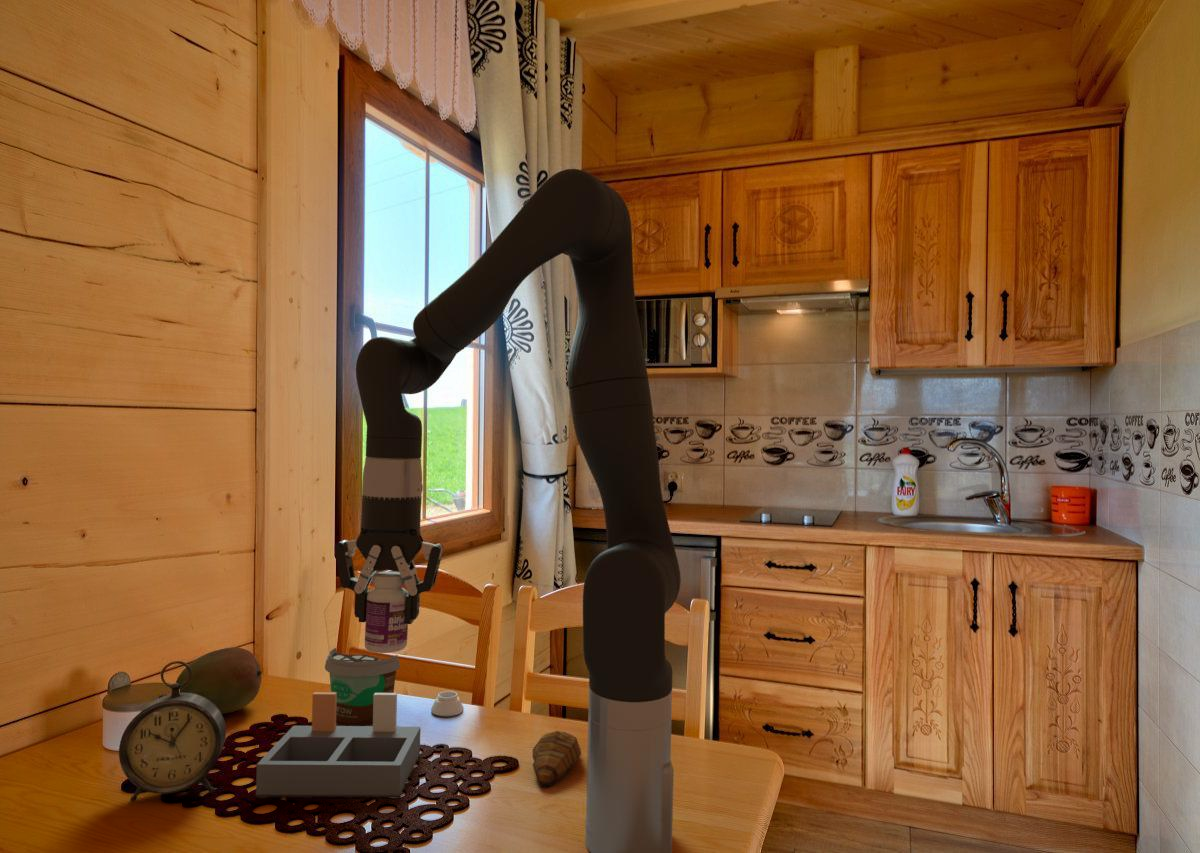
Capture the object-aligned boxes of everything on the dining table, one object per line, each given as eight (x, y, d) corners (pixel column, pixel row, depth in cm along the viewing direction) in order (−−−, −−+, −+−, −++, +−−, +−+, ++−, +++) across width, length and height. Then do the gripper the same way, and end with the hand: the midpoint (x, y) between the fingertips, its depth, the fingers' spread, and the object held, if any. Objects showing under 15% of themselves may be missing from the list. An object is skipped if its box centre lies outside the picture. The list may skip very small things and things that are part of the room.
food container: (306, 723, 114) (307, 657, 114) (331, 709, 120) (333, 646, 120) (376, 734, 111) (377, 666, 111) (399, 719, 117) (400, 655, 117)
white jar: (435, 706, 123) (427, 718, 118) (436, 688, 123) (428, 699, 118) (465, 707, 123) (459, 719, 118) (466, 689, 123) (459, 700, 118)
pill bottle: (394, 656, 95) (397, 579, 95) (356, 651, 96) (359, 576, 96) (414, 644, 100) (417, 571, 100) (377, 640, 101) (380, 568, 101)
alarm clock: (116, 809, 88) (119, 670, 88) (131, 787, 93) (134, 657, 93) (218, 798, 91) (221, 664, 91) (227, 778, 96) (230, 651, 96)
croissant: (570, 794, 94) (571, 754, 94) (518, 788, 96) (519, 749, 96) (590, 749, 108) (590, 714, 108) (544, 744, 109) (545, 710, 109)
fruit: (253, 723, 114) (255, 658, 114) (161, 730, 111) (163, 663, 111) (266, 697, 125) (268, 637, 125) (183, 702, 122) (184, 641, 122)
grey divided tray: (419, 755, 104) (421, 690, 104) (399, 797, 92) (401, 724, 92) (292, 754, 103) (294, 689, 103) (255, 797, 91) (257, 723, 91)
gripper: (326, 492, 94) (321, 627, 94) (441, 497, 94) (436, 631, 94) (345, 487, 101) (340, 612, 101) (452, 491, 102) (447, 616, 102)
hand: (386, 621), depth 98 cm, fingers closed on pill bottle, 5 cm apart
